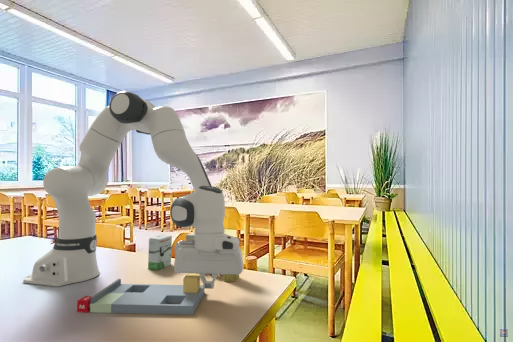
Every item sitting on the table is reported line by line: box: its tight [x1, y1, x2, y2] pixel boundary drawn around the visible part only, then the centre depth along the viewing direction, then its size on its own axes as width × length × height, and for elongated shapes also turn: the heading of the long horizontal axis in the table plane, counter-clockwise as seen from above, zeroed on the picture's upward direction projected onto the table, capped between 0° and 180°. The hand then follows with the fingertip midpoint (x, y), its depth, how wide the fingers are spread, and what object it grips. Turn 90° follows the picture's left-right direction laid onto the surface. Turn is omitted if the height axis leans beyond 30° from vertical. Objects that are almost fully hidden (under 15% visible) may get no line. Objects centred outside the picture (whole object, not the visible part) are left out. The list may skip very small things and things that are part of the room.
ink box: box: [147, 234, 173, 271], centre depth 112 cm, size 9×5×12 cm, turn 161°
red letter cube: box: [76, 295, 94, 314], centre depth 75 cm, size 3×3×3 cm
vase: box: [221, 236, 240, 283], centre depth 99 cm, size 6×6×14 cm
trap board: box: [89, 278, 205, 316], centre depth 80 cm, size 27×14×4 cm, turn 88°
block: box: [182, 273, 201, 293], centre depth 84 cm, size 4×4×4 cm
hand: (208, 287), depth 83 cm, fingers closed
